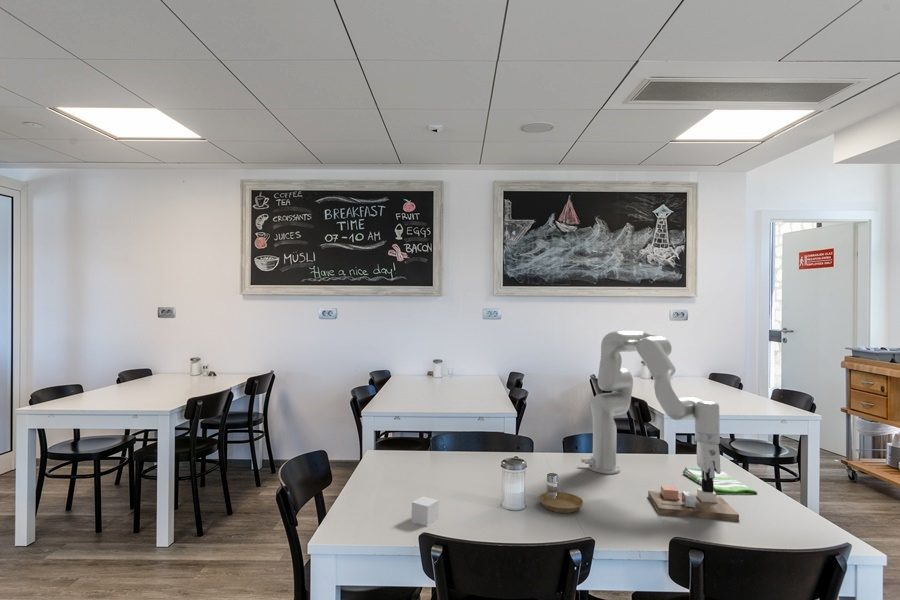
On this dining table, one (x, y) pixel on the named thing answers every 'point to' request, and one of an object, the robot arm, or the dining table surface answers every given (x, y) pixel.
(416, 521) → the white cube
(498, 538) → the dining table surface
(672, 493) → the terracotta button
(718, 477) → the dish towel
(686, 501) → the slider knob
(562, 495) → the plant saucer
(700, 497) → the cream button
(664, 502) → the switch board
